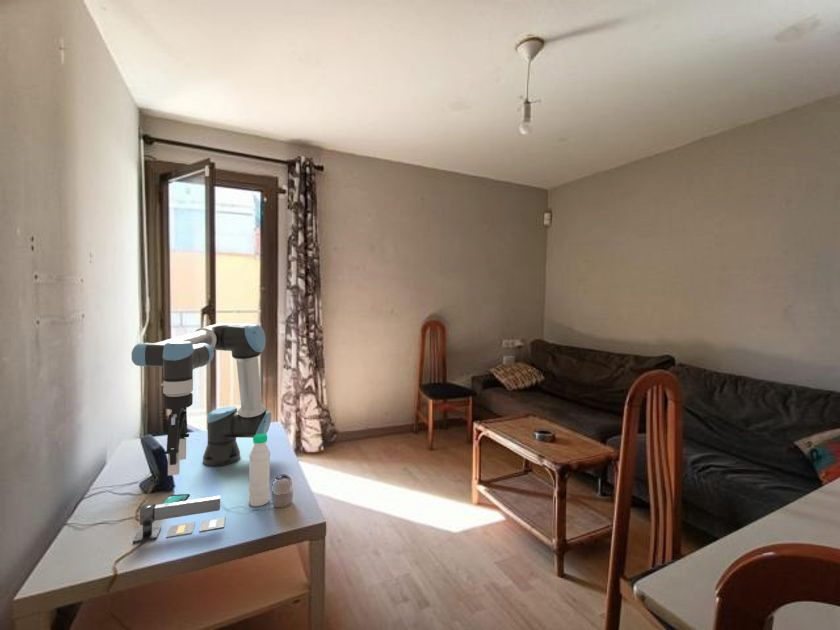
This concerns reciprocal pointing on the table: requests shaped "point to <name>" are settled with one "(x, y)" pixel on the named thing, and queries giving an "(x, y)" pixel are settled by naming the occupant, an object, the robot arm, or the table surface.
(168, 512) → the rail
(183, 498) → the smartphone
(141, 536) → the dark grey square block
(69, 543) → the table surface
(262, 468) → the water bottle
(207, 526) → the label plate dark grey
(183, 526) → the label plate ochre
